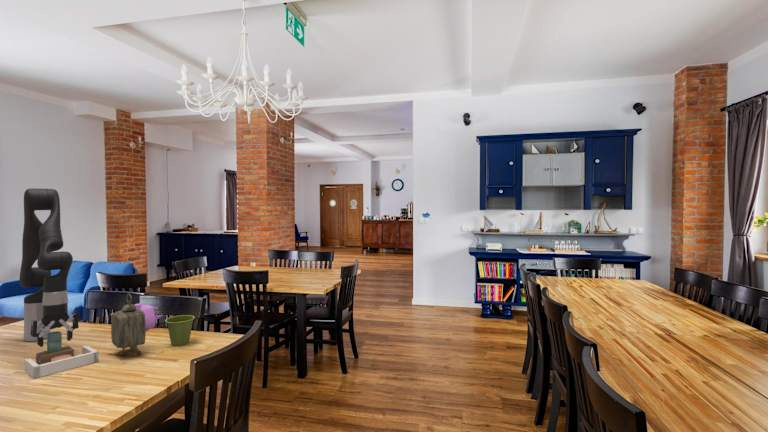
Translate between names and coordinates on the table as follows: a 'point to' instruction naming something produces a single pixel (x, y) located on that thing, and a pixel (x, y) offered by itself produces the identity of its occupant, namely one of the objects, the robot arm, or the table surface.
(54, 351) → the brown and teal block
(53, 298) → the robot arm
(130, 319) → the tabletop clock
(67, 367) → the frame
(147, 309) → the teakettle
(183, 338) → the plant pot
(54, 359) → the pink rounded dome
